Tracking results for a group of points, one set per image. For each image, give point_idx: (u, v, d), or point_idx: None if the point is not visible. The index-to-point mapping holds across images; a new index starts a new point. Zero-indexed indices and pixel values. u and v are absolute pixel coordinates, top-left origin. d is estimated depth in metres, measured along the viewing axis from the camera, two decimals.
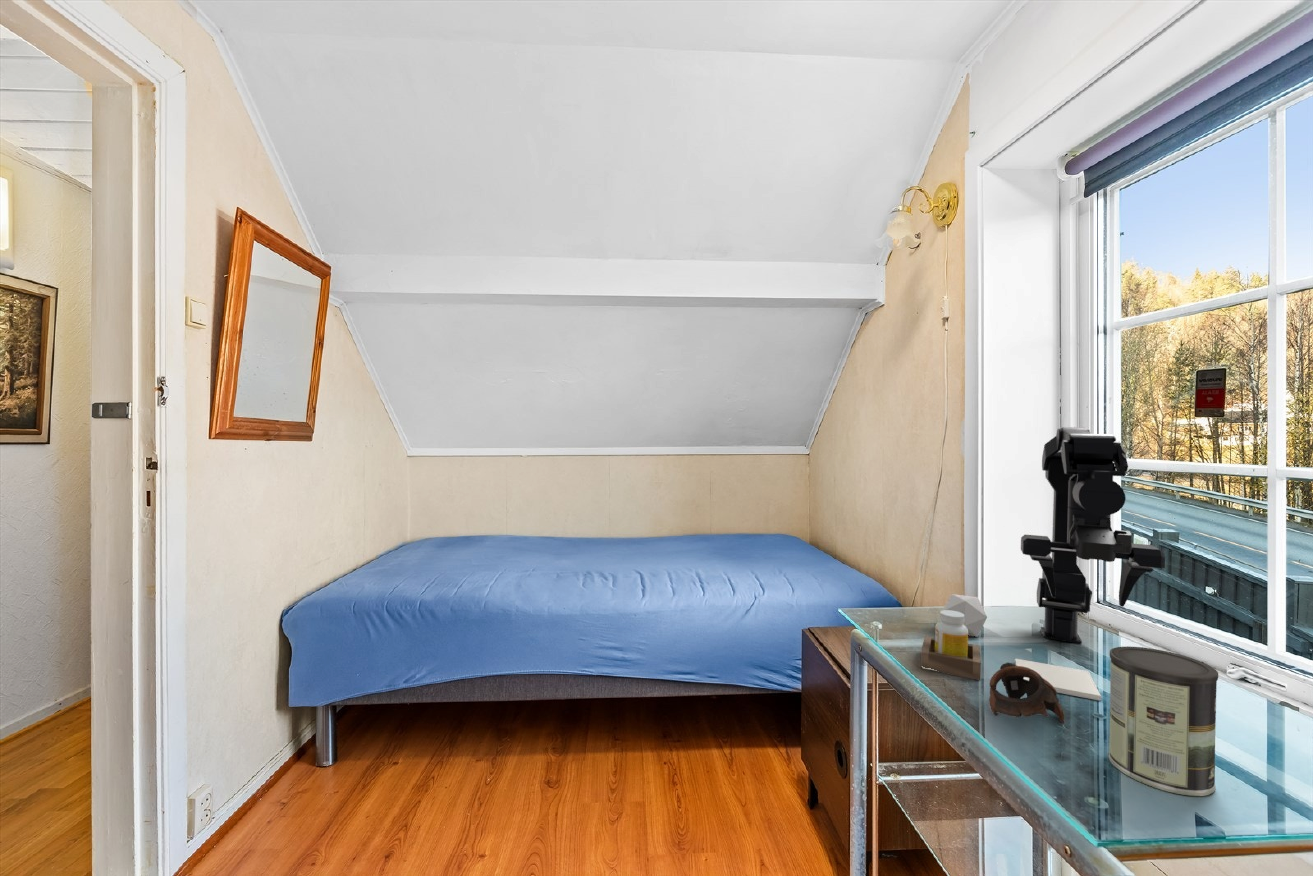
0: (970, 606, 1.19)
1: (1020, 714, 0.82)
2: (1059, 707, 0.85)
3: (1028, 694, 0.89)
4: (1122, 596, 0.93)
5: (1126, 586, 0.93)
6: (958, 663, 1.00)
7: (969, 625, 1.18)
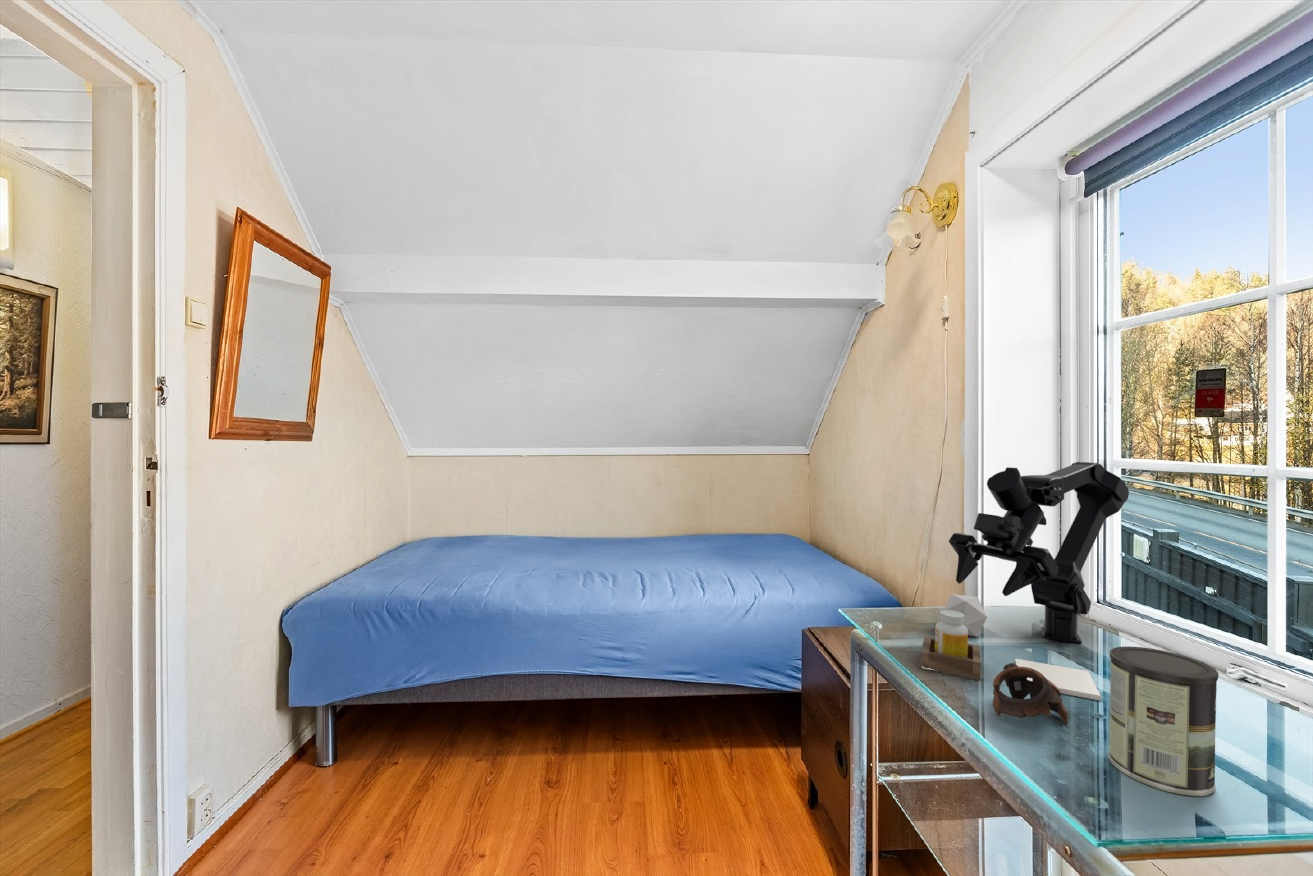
0: (970, 606, 1.19)
1: (1024, 715, 0.82)
2: (1063, 708, 0.85)
3: (1031, 695, 0.89)
4: (1006, 584, 1.05)
5: (1012, 576, 1.05)
6: (958, 663, 1.00)
7: (969, 625, 1.18)
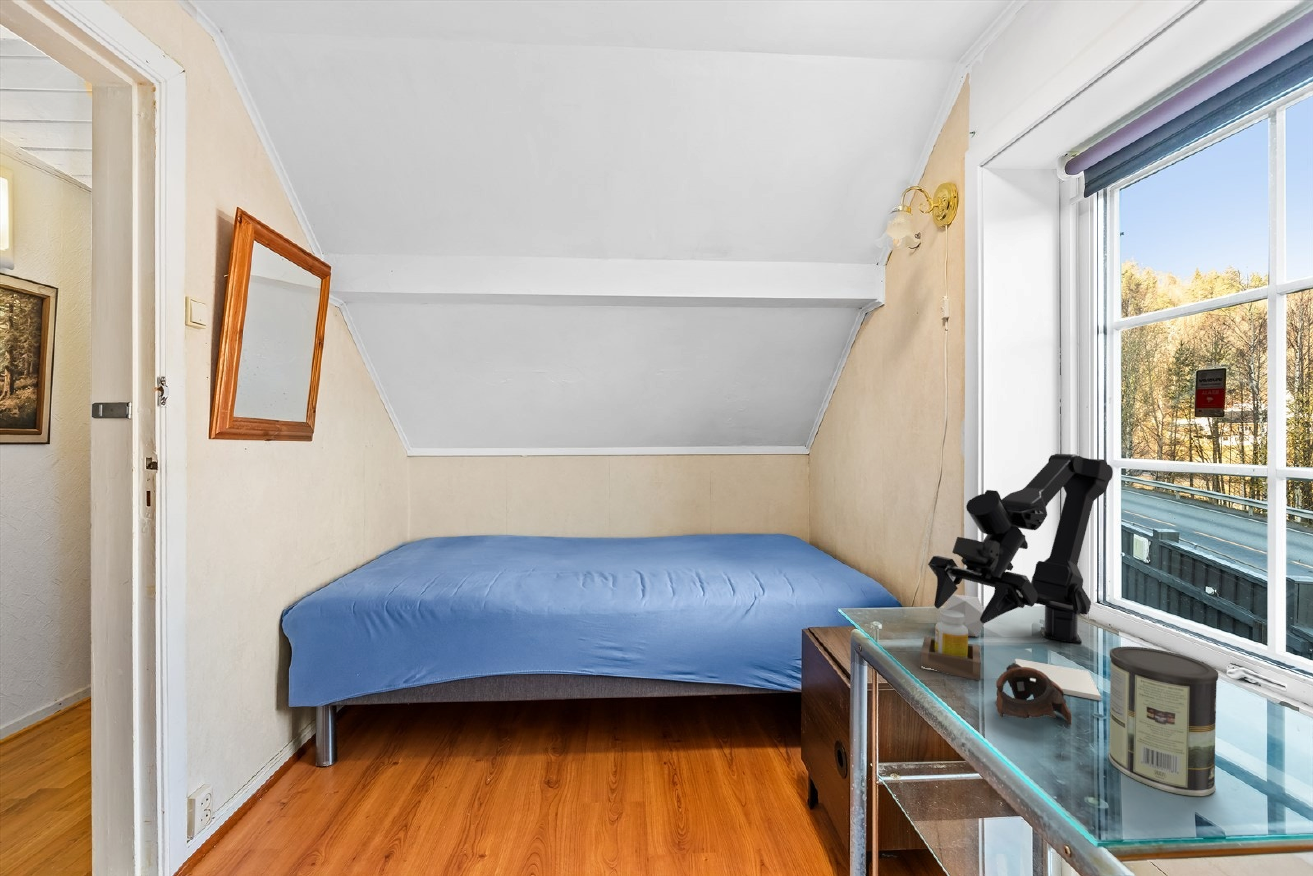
0: (970, 606, 1.19)
1: (1028, 715, 0.82)
2: (1066, 708, 0.84)
3: (1034, 695, 0.89)
4: (984, 611, 1.02)
5: (990, 603, 1.02)
6: (958, 663, 1.00)
7: (969, 625, 1.18)
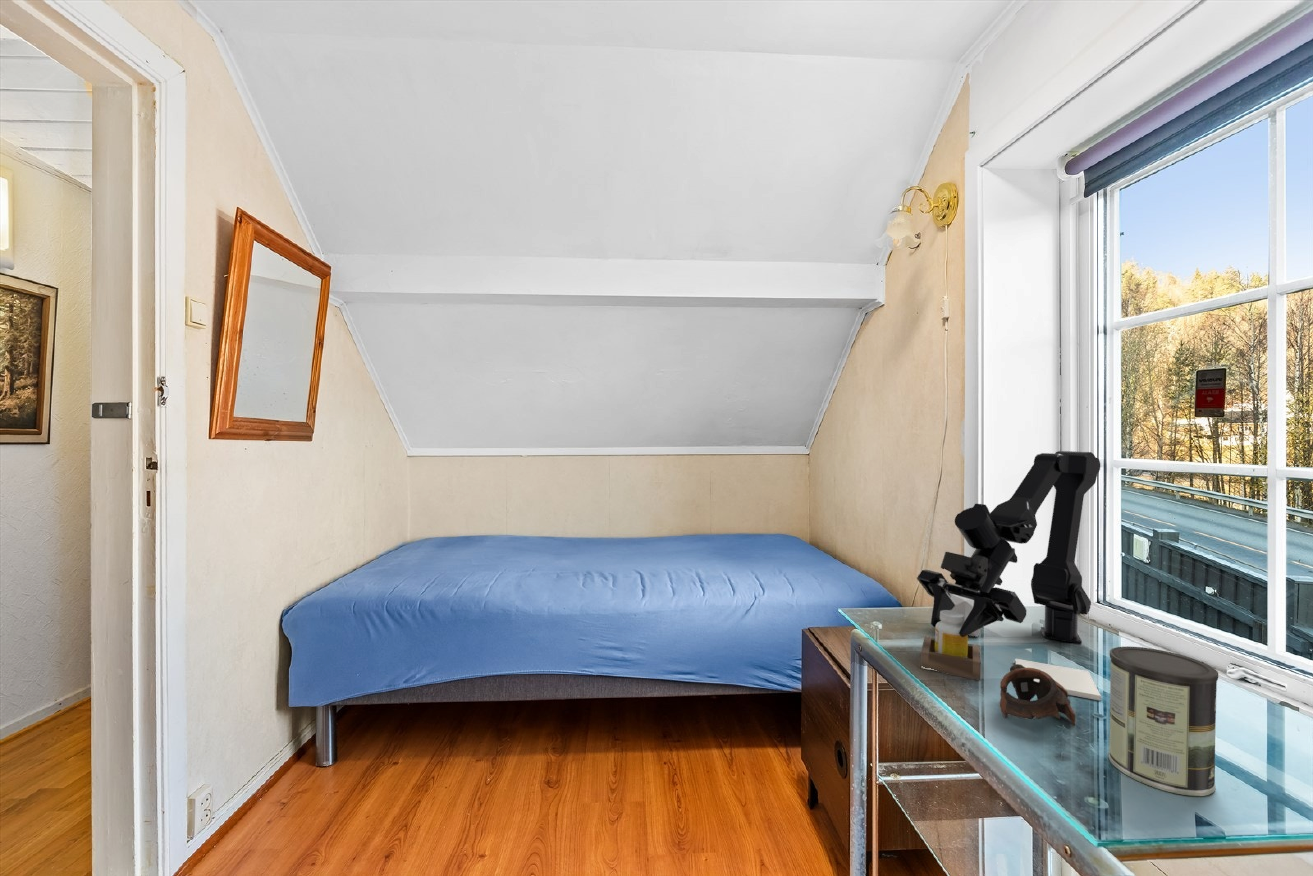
0: (970, 606, 1.19)
1: (1032, 716, 0.82)
2: (1070, 709, 0.84)
3: (1038, 696, 0.89)
4: (963, 624, 1.02)
5: (969, 617, 1.02)
6: (958, 663, 1.00)
7: None
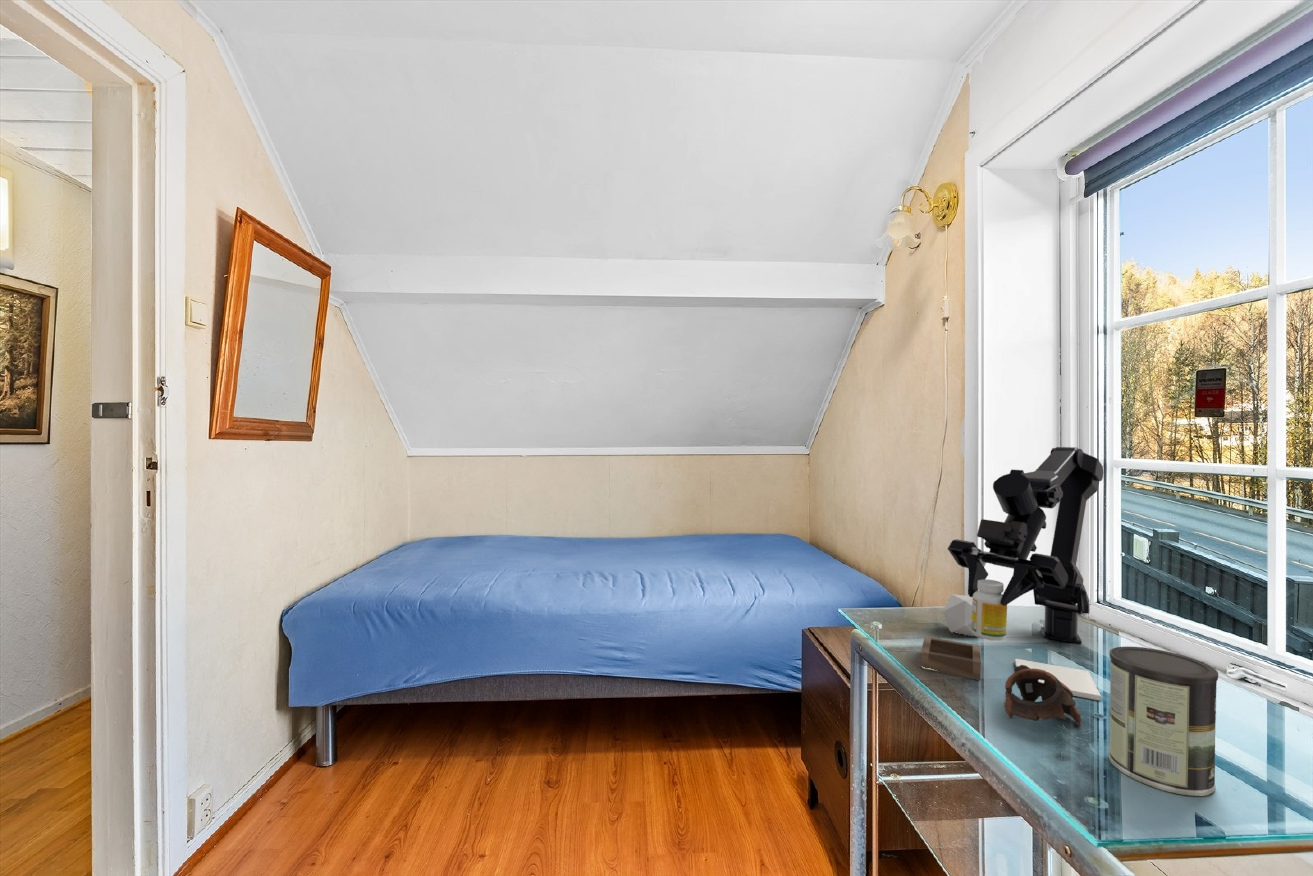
0: (970, 606, 1.19)
1: (1037, 717, 0.81)
2: (1075, 710, 0.84)
3: (1043, 697, 0.88)
4: (1004, 593, 0.99)
5: (1010, 585, 0.99)
6: (958, 663, 1.00)
7: (969, 625, 1.18)
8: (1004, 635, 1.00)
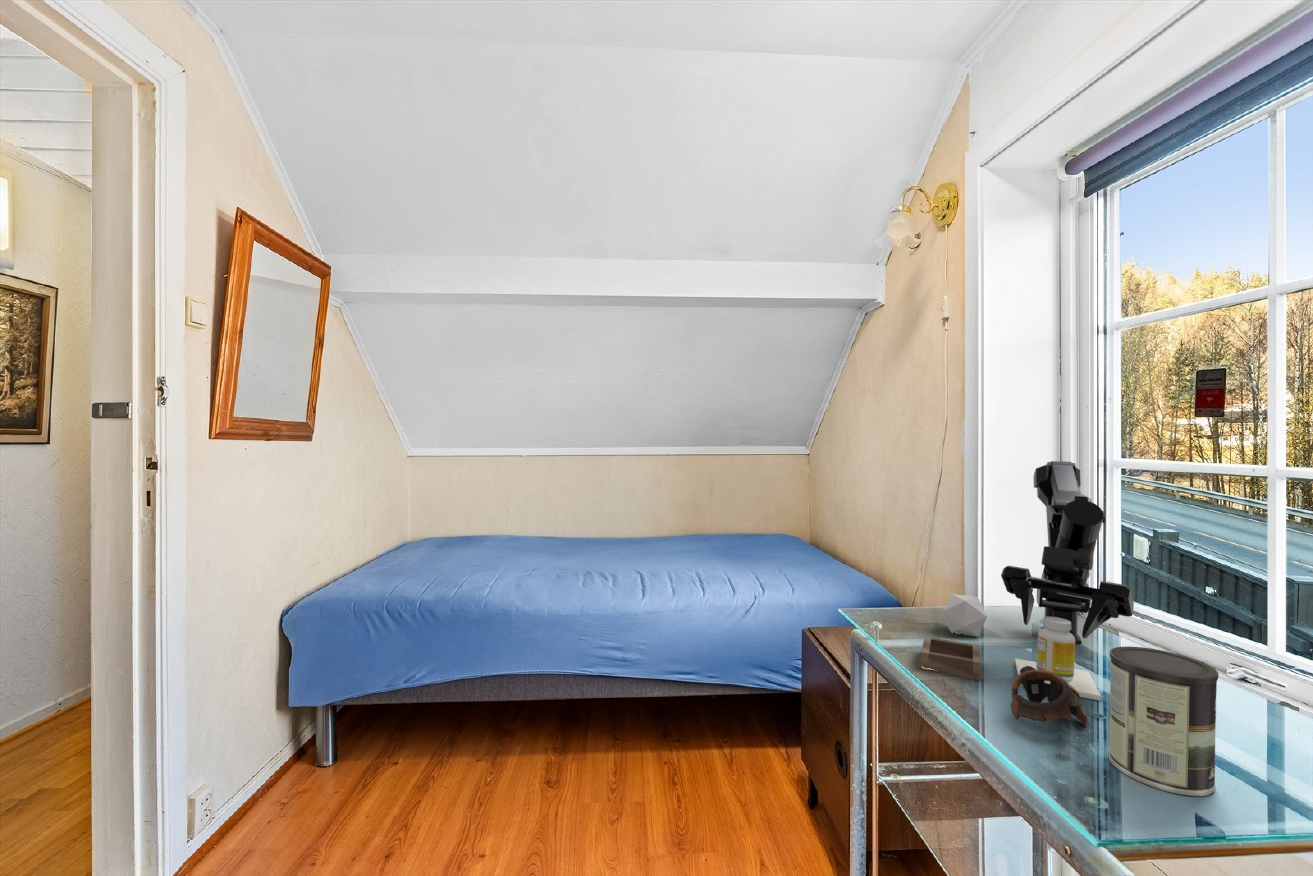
0: (970, 606, 1.19)
1: (1044, 719, 0.81)
2: (1082, 711, 0.84)
3: (1049, 698, 0.88)
4: (1084, 625, 0.95)
5: (1090, 616, 0.96)
6: (958, 663, 1.00)
7: (969, 625, 1.18)
8: (1073, 675, 0.97)
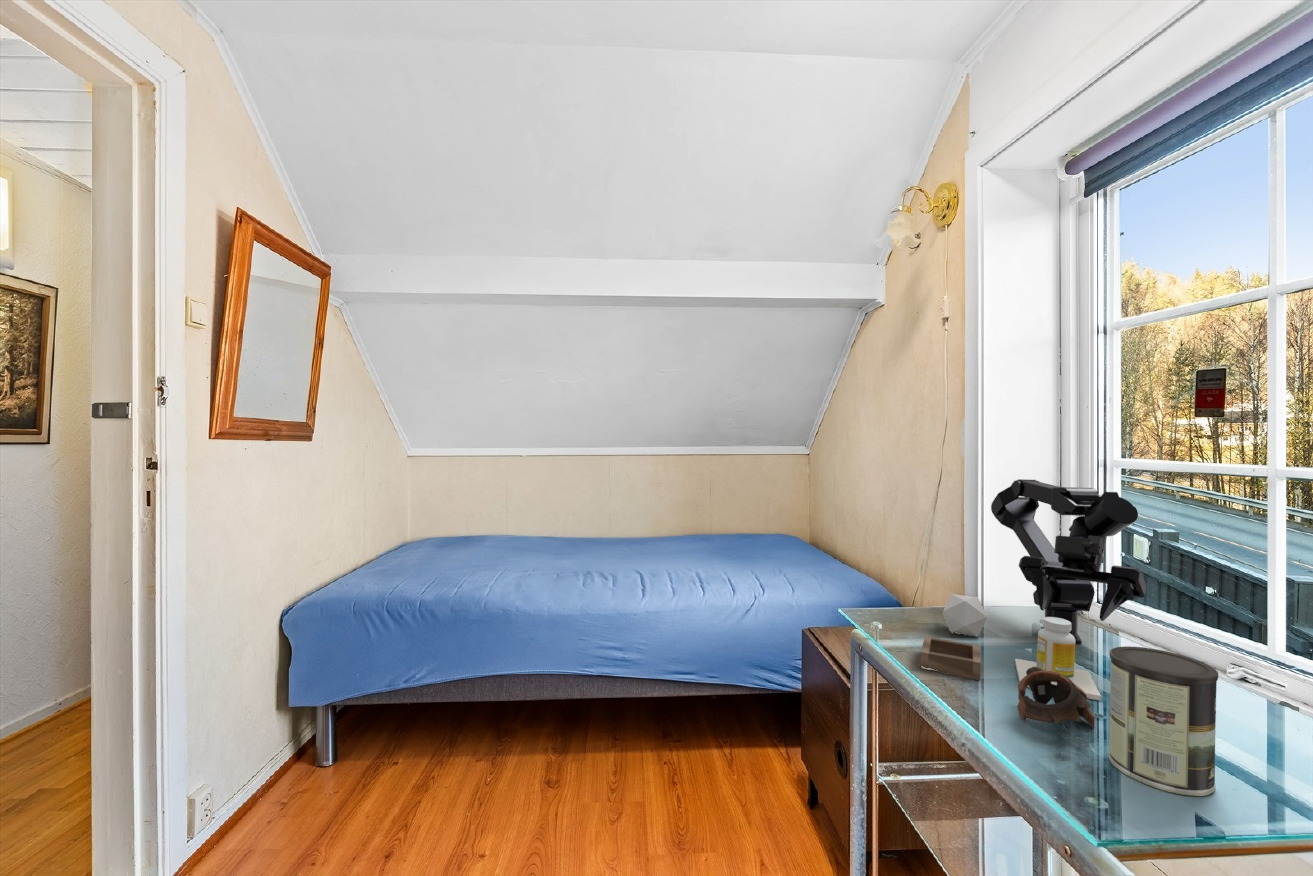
0: (970, 606, 1.19)
1: (1052, 720, 0.81)
2: (1089, 712, 0.83)
3: (1055, 699, 0.88)
4: (1101, 608, 1.01)
5: (1106, 600, 1.02)
6: (958, 663, 1.00)
7: (969, 625, 1.18)
8: (1073, 675, 0.97)
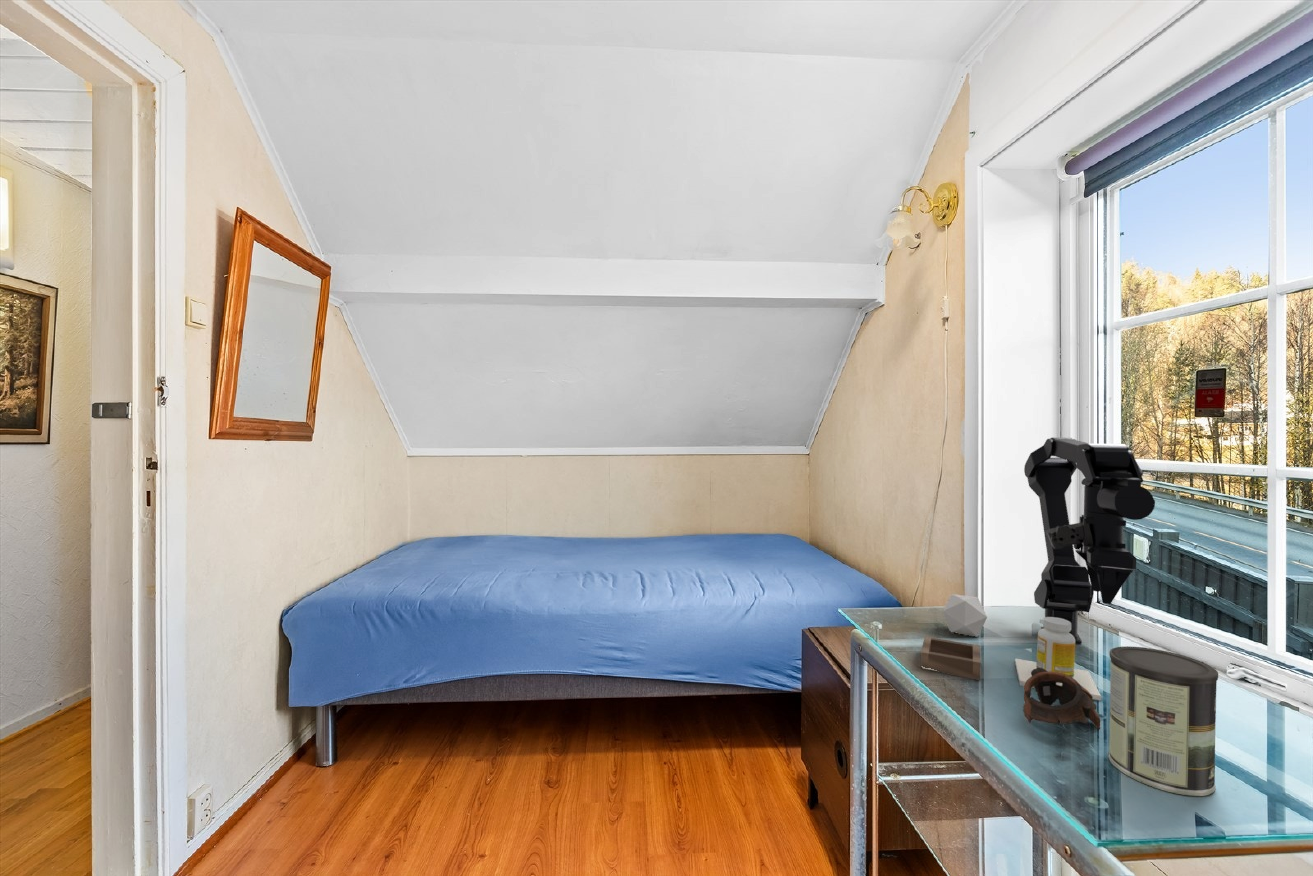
0: (970, 606, 1.19)
1: (1058, 721, 0.80)
2: (1095, 713, 0.83)
3: (1061, 700, 0.88)
4: None
5: (1100, 583, 1.01)
6: (958, 663, 1.00)
7: (969, 625, 1.18)
8: (1073, 675, 0.97)
